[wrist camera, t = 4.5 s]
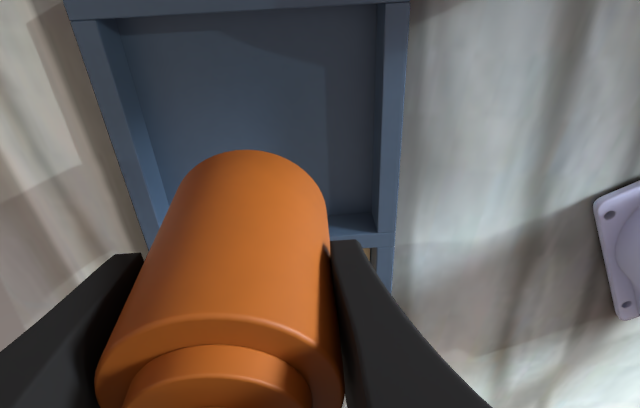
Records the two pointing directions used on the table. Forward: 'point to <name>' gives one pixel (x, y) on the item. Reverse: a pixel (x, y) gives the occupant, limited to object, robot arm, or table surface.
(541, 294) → the table surface
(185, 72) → the tray
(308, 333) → the bottle
